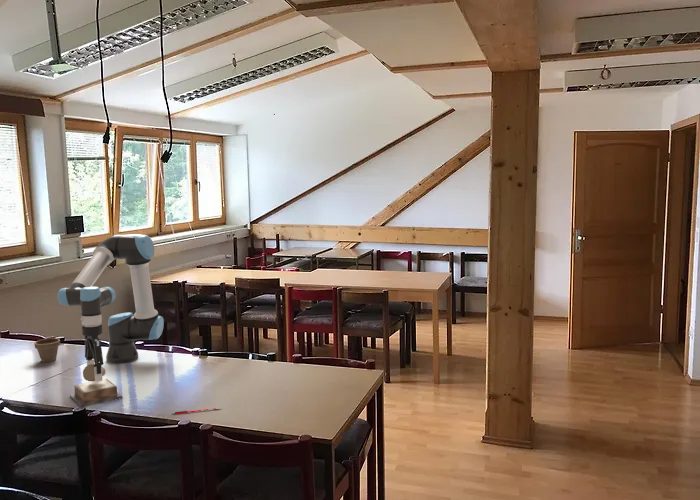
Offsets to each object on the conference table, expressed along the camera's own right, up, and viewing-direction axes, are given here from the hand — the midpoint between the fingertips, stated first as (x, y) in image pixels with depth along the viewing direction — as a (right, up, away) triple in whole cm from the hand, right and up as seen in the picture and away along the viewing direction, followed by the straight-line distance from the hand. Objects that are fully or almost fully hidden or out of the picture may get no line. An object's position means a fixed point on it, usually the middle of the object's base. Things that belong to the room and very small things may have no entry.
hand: (94, 378), depth 245 cm
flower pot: (-47, -3, +54) cm, 72 cm away
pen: (+46, -10, -15) cm, 50 cm away
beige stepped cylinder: (0, -1, +1) cm, 1 cm away
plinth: (0, -8, +1) cm, 8 cm away
